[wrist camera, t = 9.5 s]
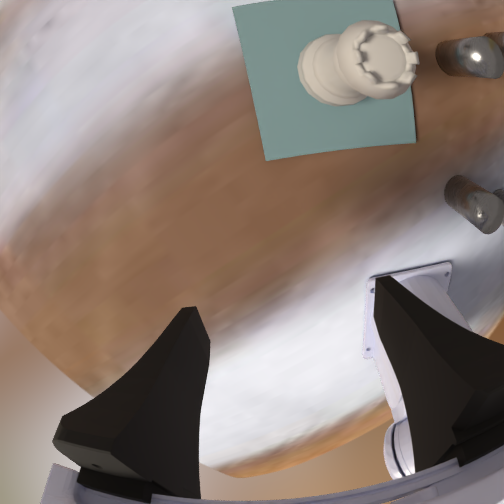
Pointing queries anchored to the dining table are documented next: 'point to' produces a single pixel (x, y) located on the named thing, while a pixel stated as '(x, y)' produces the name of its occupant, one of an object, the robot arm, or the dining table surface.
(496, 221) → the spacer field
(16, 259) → the dining table surface
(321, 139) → the mat
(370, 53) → the rook chess piece
